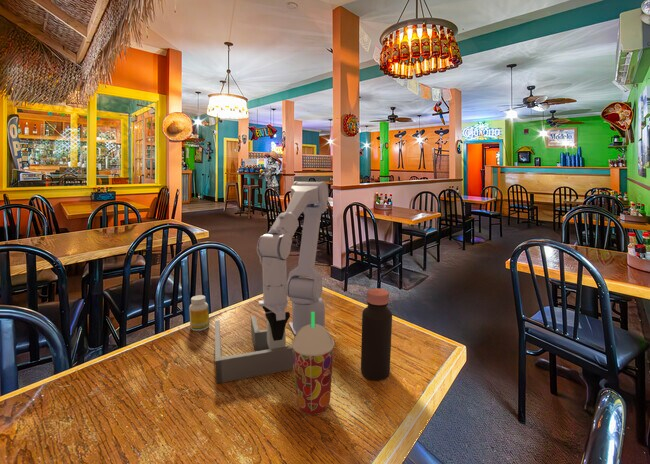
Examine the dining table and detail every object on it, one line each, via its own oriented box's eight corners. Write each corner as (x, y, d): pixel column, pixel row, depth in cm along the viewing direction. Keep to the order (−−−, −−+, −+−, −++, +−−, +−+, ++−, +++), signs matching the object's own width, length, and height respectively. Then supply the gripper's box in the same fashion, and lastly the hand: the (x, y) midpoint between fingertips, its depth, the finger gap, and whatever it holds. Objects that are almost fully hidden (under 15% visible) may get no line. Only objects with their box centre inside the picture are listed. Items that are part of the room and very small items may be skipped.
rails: (277, 330, 98) (277, 312, 97) (293, 369, 78) (293, 348, 77) (215, 339, 92) (214, 321, 91) (216, 383, 73) (215, 361, 72)
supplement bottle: (188, 326, 100) (185, 296, 98) (205, 321, 103) (203, 292, 101) (194, 333, 96) (191, 302, 94) (212, 328, 99) (210, 297, 97)
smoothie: (292, 392, 70) (291, 304, 66) (331, 390, 71) (332, 303, 67) (292, 421, 62) (290, 322, 58) (336, 419, 63) (337, 321, 59)
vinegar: (387, 384, 73) (390, 299, 69) (357, 377, 75) (359, 295, 72) (391, 367, 79) (395, 288, 76) (364, 362, 82) (366, 285, 78)
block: (282, 339, 85) (281, 310, 83) (285, 347, 81) (285, 316, 79) (266, 341, 83) (266, 312, 82) (269, 349, 80) (268, 318, 78)
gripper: (254, 275, 85) (256, 324, 87) (262, 295, 71) (264, 352, 74) (281, 273, 87) (282, 321, 89) (294, 291, 73) (294, 347, 76)
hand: (276, 335), depth 82 cm, fingers closed on block, 4 cm apart
